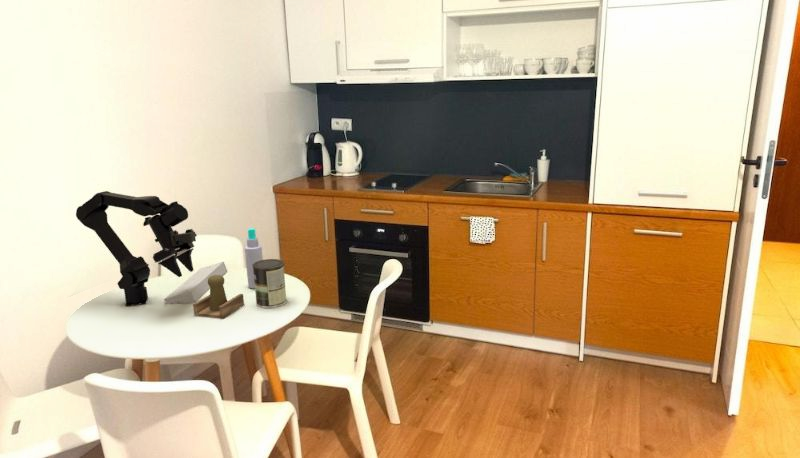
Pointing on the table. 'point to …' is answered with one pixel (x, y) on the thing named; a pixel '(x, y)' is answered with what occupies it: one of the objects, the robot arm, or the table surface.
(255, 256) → the spray bottle
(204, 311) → the tray
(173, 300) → the light grey block
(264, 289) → the coffee can
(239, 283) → the table surface
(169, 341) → the table surface
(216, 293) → the cork
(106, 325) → the table surface
